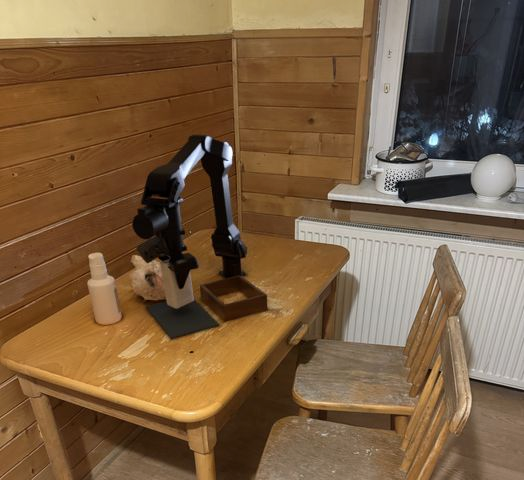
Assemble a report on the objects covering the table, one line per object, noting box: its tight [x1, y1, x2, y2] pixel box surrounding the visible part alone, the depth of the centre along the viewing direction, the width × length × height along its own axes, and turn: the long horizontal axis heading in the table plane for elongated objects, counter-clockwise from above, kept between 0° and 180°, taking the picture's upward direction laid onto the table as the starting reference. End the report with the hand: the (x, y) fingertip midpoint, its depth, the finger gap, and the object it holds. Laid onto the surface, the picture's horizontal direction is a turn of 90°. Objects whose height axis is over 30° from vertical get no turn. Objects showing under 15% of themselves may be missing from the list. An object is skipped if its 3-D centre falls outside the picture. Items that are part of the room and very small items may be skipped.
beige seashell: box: [128, 254, 166, 303], centre depth 148 cm, size 18×14×8 cm
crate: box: [199, 275, 269, 323], centre depth 139 cm, size 16×13×4 cm
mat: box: [145, 299, 220, 340], centre depth 135 cm, size 20×13×1 cm, turn 29°
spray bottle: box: [86, 252, 123, 326], centre depth 130 cm, size 7×7×18 cm
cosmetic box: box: [160, 259, 195, 309], centre depth 130 cm, size 6×4×12 cm
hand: (177, 285), depth 130 cm, fingers closed on cosmetic box, 5 cm apart
